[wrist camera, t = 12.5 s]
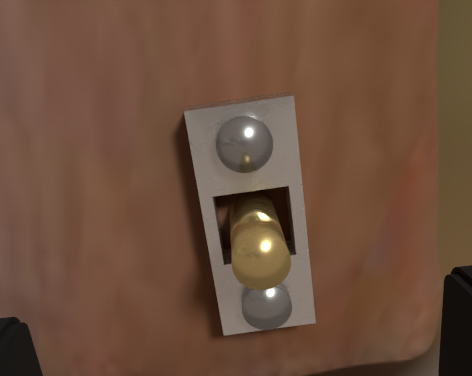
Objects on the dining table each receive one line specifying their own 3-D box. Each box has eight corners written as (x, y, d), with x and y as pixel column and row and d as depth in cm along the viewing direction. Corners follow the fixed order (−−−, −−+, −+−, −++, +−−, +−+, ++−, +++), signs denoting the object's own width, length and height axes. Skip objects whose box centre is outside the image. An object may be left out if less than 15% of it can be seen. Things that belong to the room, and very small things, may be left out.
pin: (258, 241, 33) (269, 299, 25) (221, 219, 32) (220, 272, 24) (283, 205, 32) (302, 254, 24) (245, 182, 31) (252, 226, 24)
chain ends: (309, 304, 35) (318, 331, 31) (223, 315, 35) (223, 344, 31) (287, 91, 29) (296, 97, 26) (187, 106, 29) (182, 113, 26)
